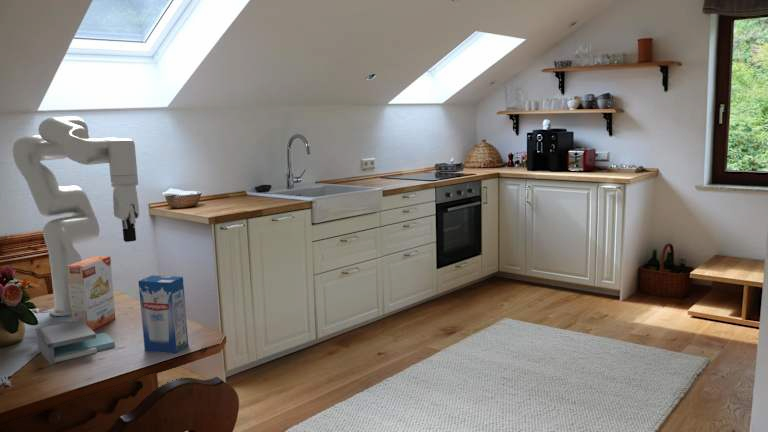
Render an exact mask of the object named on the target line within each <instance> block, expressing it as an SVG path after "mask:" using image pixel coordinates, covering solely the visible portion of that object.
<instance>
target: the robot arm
mask: <svg viewBox="0 0 768 432" xmlns="http://www.w3.org/2000/svg"><path fill="white" fill-rule="evenodd" d="M38 133H39V134H33V135H32V134H31V135H26V136H25V135H24V136H22V137H20V138H19V137H18V139H16V140H15V141H14V142H13V145H12V156H13V161H14V164H15V165H16V167H17V169H18V171H19V173H20V174H21V175H22V177H23V178H24V180H25V181H26V183H27V185H28V188H29V191H30V193H31V196H32V198H33V200H34V203H35V204H36V208H37V209H38V212H39V214H41V215H42V216H43V217H45V218H50V217H51V218H54V217H58V218H55V219H52V220H50V221H48V222H46V223H45V224H44V226H43V229H42V235H43V239H44V242H45V245H46V248H47V252H48V259H49V265H50V273H51V281H52V283H51V284H52V292H53V300H54V307H52V308H51V309H50V310H49V311H50V315H52V316H55V317H69V316H70V317H71V307H70V296H69V286H68V275H67V266H68V265H71V264H74V263H77V262H80V261H83V259H82V257H81V256H82V255H80V253H79V252H78V251H77V250H76V248H75V247H74V246H76V245H80V244H84V243H88V242H89V243H90V242H92V241H95V240H96V239H97V238H98V237H99V235H100V232H101V231H100V225H99V221H98V218H97V216H96V214H95V212H94V208H93V207H92V205H91V202H90V199H89V197H88V194H87V193H86V192H85V190H84V189H82V187H80V186H78V185H65V186H61V185H59V183H58V181H57V178H56V175H55V174H54V172H53V171H52V170H51V169H50V168H49V167H47V166H46V165H45V164H43V163H42V161H50V160H51V161H54V160H64V159H67V158H68V159H69V160H71V161H73V162H75V163H78V164H81V165H87V166H90V165H92V166H93V165H100V164H109V174H110V185H111V187H112V198H113V199H112V205H113V215H114V217H115V218H117V219H119V220H121V226H122V235H123V237H122V238H123V241H124V242H126V243H129V242H136V241H137V236H136V235H137V233H136V223H137V221H136V219H138V218H139V217H140V209H139V198H138V193H137V187H136V186H138V185H139V178H138V165H137V154H136V146H135V141H134V140H132V139H131V138H117V137H100V138H90V136H89V128H88V125H87V123H86V122H85V121H84V120H83V119H82V118H81V117H78V116H60V117H59V116H57V117H55V116H54V117H48V118H46V119H44V120H42V121H41V122H40V123H39V126H38ZM65 215H72V216H66V217H60V216H65Z"/></svg>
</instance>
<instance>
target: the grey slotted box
mask: <svg viewBox="0 0 768 432" xmlns="http://www.w3.org/2000/svg"><path fill="white" fill-rule="evenodd" d="M35 333H36V335H35V336H36V343H37V348H38V350H39V352H40V353H41V355H43V357H44V358H45V360H46V361H47V362H48V364H49V365H55V364H56V363H58V362H63V361H67V360H71V359H74V358H80V357H83V356H89V355H92V354H97V353H98V351H97V348H96V347H95V348H91V349H87V350H82V351H78V352H74V353H69V354H65V355H61V356H56V357H54V349H53V347H58V346H62V345H67V344H71V343H76V342H80V341H85V340H89V339H94V338H96V334H97V333H96V332H95V331H94V330H93V331H92V330H91V329H90V328H89V327H88V326H87V325H86V324H85V323H84V322H83V321H82V320H78V321H73V322H72V321H69V322H65V323H60V324H55V325H50V326H46V327H45V326H44V327H40V328H35Z"/></svg>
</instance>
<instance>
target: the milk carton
mask: <svg viewBox="0 0 768 432" xmlns="http://www.w3.org/2000/svg"><path fill="white" fill-rule="evenodd" d="M184 286H185V284H184V276H171V275H150V276H147V277H145V278H143V279H141V280H138V291H139V301H140V312H141V314H140V315H141V323H142V332H143V334H142V335H143V346H144V351H145V352H152V353H162V354H163V353H164V354H165V353H166V354H178V353H179V352H182V351H183V350H184V349H186V348H187V347H188V346H189V338H188V325H187V312H186V311H187V310H186V299H185V288H184Z"/></svg>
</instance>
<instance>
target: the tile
mask: <svg viewBox="0 0 768 432" xmlns="http://www.w3.org/2000/svg"><path fill="white" fill-rule="evenodd" d="M95 347H96V348H97V352H98V351H101V350H107V349H111V348H115V347H116V345H115V341H114V340H113V339H112V337H110V336H109V335H108V334H107V333H106V332H100V333H96V338H94V339H89V340H85V341H80V342H76V343H71V344H67V345H62V346H58V347H53V349H54V357H56V356H61V355H65V354H69V353H74V352H78V351H82V350H87V349H91V348H95Z"/></svg>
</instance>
